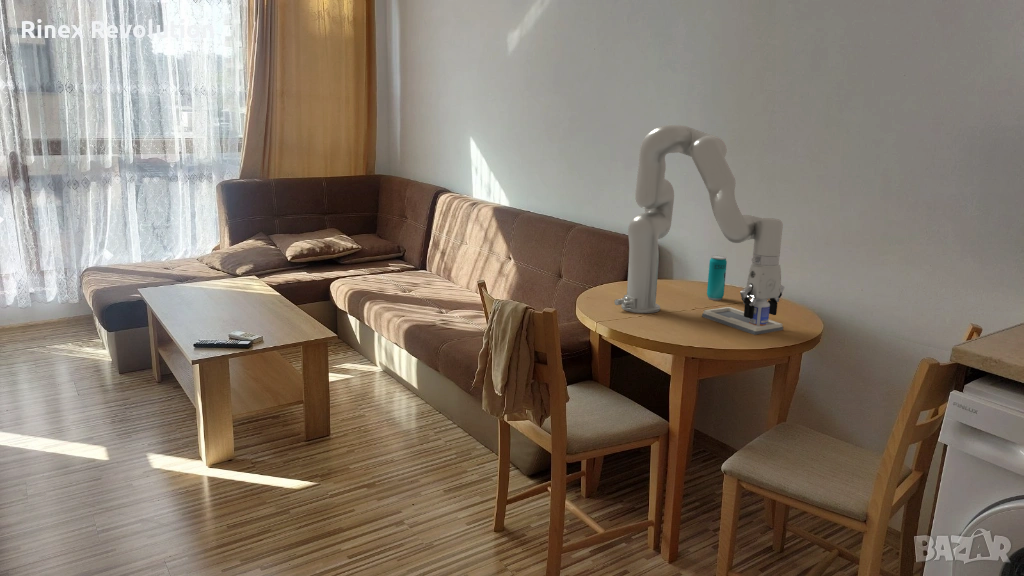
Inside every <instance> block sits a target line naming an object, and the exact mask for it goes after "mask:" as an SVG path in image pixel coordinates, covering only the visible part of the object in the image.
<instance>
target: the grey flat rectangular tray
mask: <svg viewBox="0 0 1024 576" xmlns="http://www.w3.org/2000/svg"><path fill="white" fill-rule="evenodd" d="M701 317H702V318H705V319H708V320H711V321H714V322H716V323H719V324H722V325H725V326H728V327H729V328H730V327H731V328H734V329H736V330H738V331H742V332H745V333H749V334H751V335H754V336H756V335H761V334H769V333H773V332H780V331H784V326H783V323H781V322H778V321H776V320H775V321H774V320H772V319H768V325H765V326H756V325H753V324H750V323H749V320H750V318H747V317H744V310H740V309H737V308H735V307H731V306H726V307H725V306H724V307H718V308H712V309H711V308H710V309H705V310H703V313H701Z"/></svg>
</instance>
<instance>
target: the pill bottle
mask: <svg viewBox="0 0 1024 576" xmlns="http://www.w3.org/2000/svg"><path fill="white" fill-rule="evenodd" d="M768 300H769V299H763V300H758V299H756V301H755V302H754V304H753V306H754V315H753V319H750V320H749V323H750V324H753V325H756V326H765V325H768V319H769V318H770V317H769V316H770V314H769V309H770V303H769V302H768ZM769 320H770V319H769Z"/></svg>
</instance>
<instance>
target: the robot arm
mask: <svg viewBox="0 0 1024 576" xmlns="http://www.w3.org/2000/svg"><path fill="white" fill-rule="evenodd" d="M675 153H676V154H677V153H679V154H682V155H685V156H688V157H691V159H692V161H693V163H694V165H695V168H696V169H697V171H698V173H699V175H700V178H701V179H702V181H703V183H704V185H705V187H706V189H707V191H708V195H709V201H710V205H711V209H712V213H713V216H714V218H715V221H716V222H717V224H718V227H719V228H720V230H721V232H722V235H723V236H724V237H725V238H726V239H727V240H728V241H729V242H731V243H734V244H740V243H741V244H742V243H743V242H746V241H750V240H753V250H752V258H751V265H750V268H749V272H748V277H747V280H746V281H747V282H746V287H744V288H743V289H741V291H740V293H739V294H740V297H741V300H742V303H743V305H744V308H743V311H744V317H747V318H750V319H753V315H754V306H753V304H754V302H755V301H756V299H758V300H763V299H768V300H767V301H768V302H769V303H770V309H769V315H772V316H777V310H778V303H779V302H780V298H781V297H782V296H783V292H784V289H785V286H784V285H782V268H781V264H780V255H781V246H782V237H783V228H784V227H783V226H784V224H783V221H782V220H780V219H777V218H772V217H771V218H770V217H758V216H755V215H751V214H742V212H741V210H740V208H739V206H738V203H737V199H736V194H735V191H736V177H735V175H734V174H733V172H732V170H731V168H730V166H729V164H728V162H727V160H726V156H727V153H728V152H727V146H726V143H725V141H724V140H723V139H721V137H718V136H715V135H712V134H710V133H707V132H704V131H700V130H698V129H695V128H692V127H689V126H687V125H681V124H667V125H662V126H659V127H657V128H654V129H652V130H651V131H649V132H648V133H647V134H646V135H645V137H644V138H643V140H642V141H641V144H640V148H639V157H638V166H637V167H638V168H637V174H636V175H637V176H636V183H635V185H636V186H635V192H634V193H635V203H636V205H638V207H640V208H642V209H644V212H643V213H640V214H637V215H636V216H634V217H633V218H632V219H631V221H630V222H629V225H628V230H627V231H628V232H627V234H628V235H627V236H628V247H629V249H628V270H627V271H628V272H627V286H626V294H624V295H623V297H622V298H618V299H615V300H614V305H615V306H621V309H622V310H624V311H627V312H631V313H636V314H655V313H658V312H660V310H661V306H660V304H658V303H656V302H657V289H658V287H657V286H658V276H659V275H658V274H659V273H658V272H659V262H660V261H659V257H660V255H659V254H660V250H659V244H658V243H659V242H658V240H661V239H663V238H664V237H666V236H667V235H668V233H669V232H670V230H671V226H672V221H673V210H674V201H675V191H674V187H673V185H672V184H671V182H670V181H669V180H668V179H666V178H665V176H666V174H665V173H666V170H667V169H666V166H667V164H666V156H667V155H668V154H675Z"/></svg>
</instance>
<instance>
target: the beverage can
mask: <svg viewBox="0 0 1024 576" xmlns="http://www.w3.org/2000/svg"><path fill="white" fill-rule="evenodd" d="M727 263H728V261H727V257H726V256H724V255H711V256H710V259H709V265H708V276H707V285H706V286H707V289H706V295H707V298H708V300H711V301H721V300H723V298H724V295H725V285H726V273H727Z"/></svg>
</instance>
